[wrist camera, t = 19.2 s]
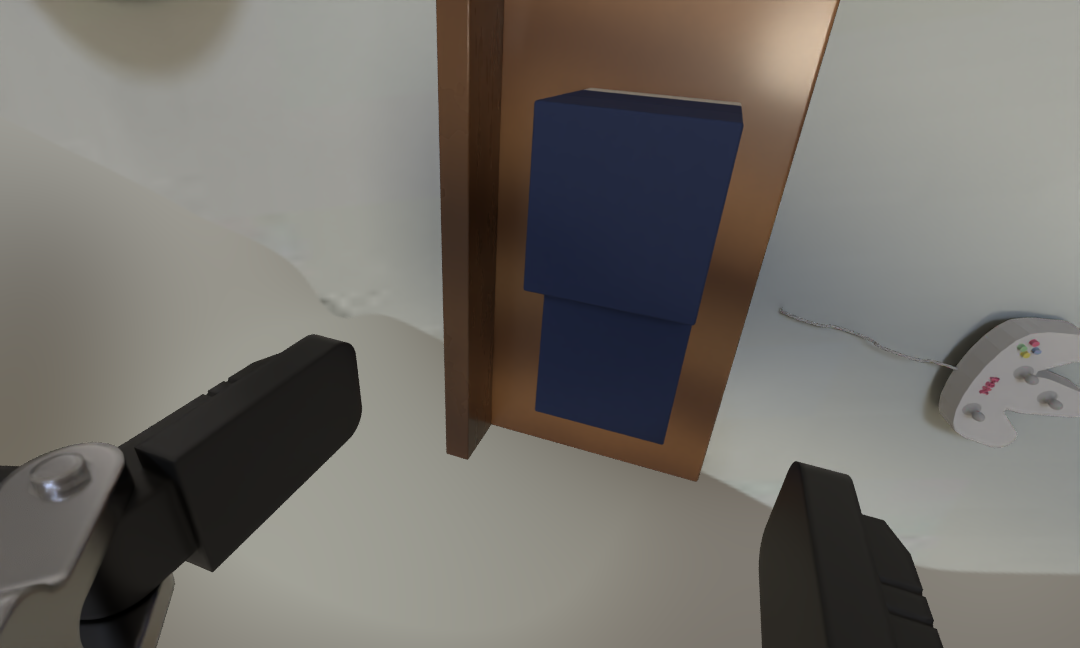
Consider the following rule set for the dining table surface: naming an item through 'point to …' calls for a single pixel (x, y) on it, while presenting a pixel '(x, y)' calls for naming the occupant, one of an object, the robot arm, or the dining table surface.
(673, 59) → the shelf
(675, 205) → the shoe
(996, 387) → the game controller
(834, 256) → the dining table surface
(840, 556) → the robot arm
